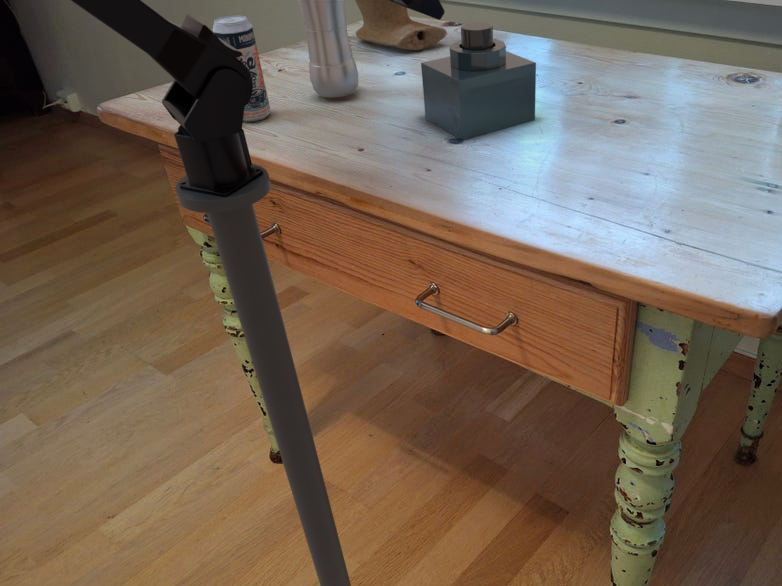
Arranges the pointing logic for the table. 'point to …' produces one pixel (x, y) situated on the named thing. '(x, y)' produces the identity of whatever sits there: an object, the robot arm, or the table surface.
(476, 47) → the grey push button
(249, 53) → the beer can
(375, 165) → the table surface
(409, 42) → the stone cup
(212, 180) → the robot arm
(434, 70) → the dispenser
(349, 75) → the plastic bottle
